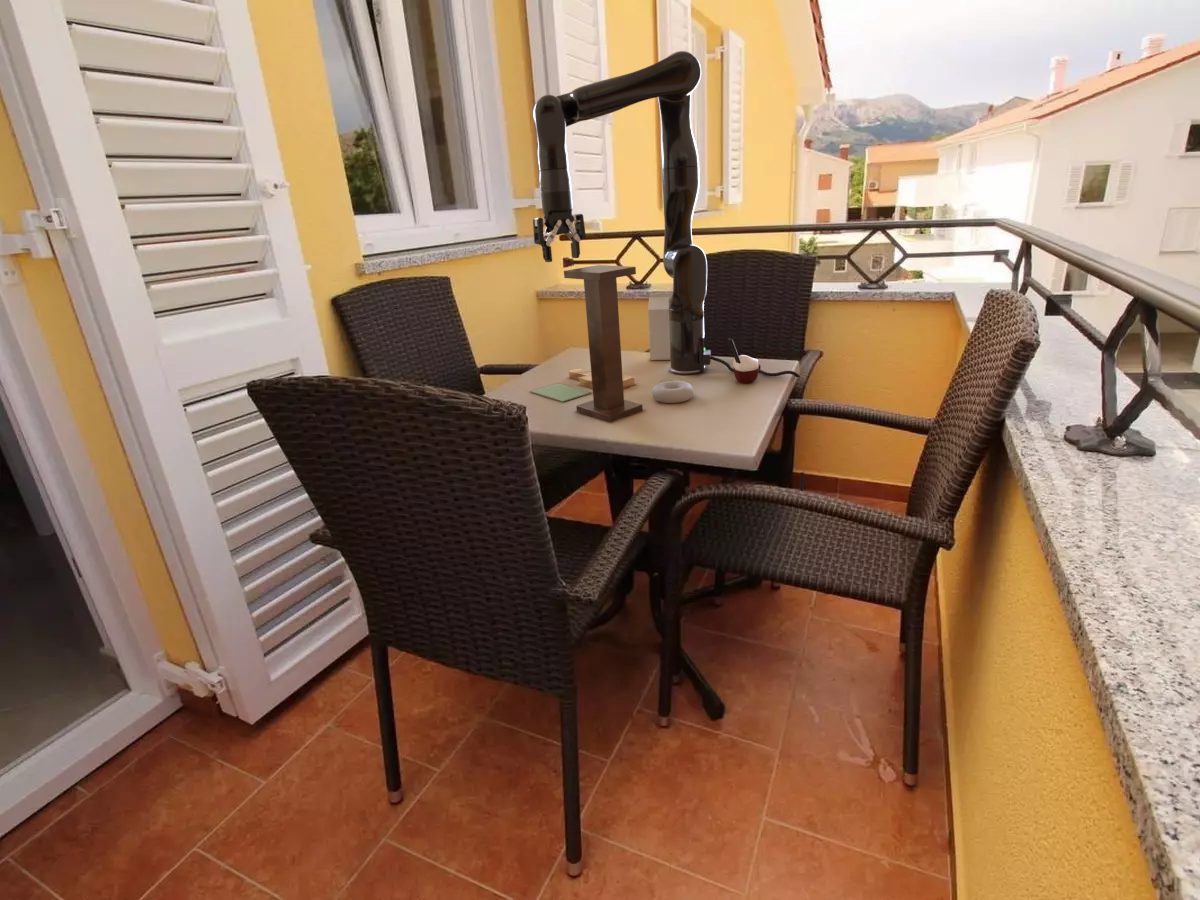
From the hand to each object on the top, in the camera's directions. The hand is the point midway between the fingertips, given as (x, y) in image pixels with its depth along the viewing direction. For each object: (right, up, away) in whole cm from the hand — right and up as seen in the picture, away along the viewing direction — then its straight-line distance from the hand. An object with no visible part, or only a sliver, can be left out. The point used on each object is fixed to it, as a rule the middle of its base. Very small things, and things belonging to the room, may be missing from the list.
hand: (562, 259), depth 157 cm
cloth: (-1, -33, +4) cm, 33 cm away
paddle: (+9, -30, +10) cm, 33 cm away
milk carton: (+29, -20, +30) cm, 46 cm away
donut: (+27, -36, -7) cm, 45 cm away
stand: (+12, -39, -12) cm, 42 cm away
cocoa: (+46, -31, +1) cm, 55 cm away
